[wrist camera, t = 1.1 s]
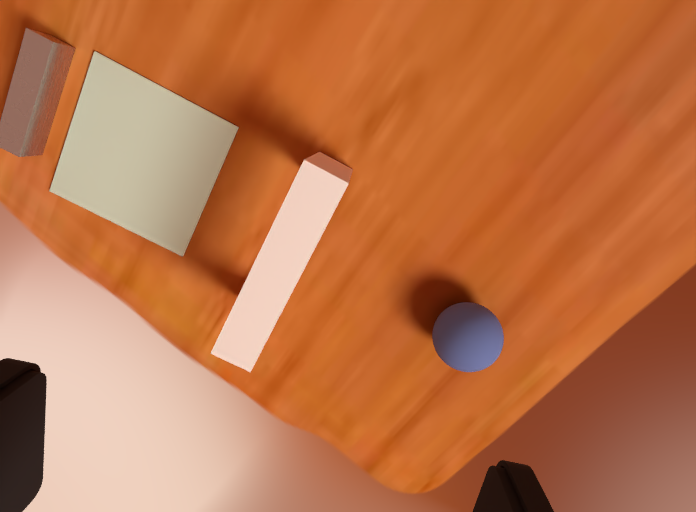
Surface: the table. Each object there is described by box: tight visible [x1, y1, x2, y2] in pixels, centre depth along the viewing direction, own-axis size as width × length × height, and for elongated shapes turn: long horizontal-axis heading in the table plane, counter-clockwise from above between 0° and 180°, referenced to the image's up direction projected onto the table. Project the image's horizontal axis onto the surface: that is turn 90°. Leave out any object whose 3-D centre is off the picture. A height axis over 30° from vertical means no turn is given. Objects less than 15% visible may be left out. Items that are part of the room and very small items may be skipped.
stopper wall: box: [0, 28, 75, 157], centre depth 34 cm, size 9×2×2 cm, turn 152°
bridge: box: [211, 152, 353, 372], centre depth 33 cm, size 3×15×9 cm, turn 152°
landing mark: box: [49, 51, 239, 257], centre depth 36 cm, size 12×12×1 cm
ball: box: [432, 302, 504, 372], centre depth 36 cm, size 6×6×6 cm
